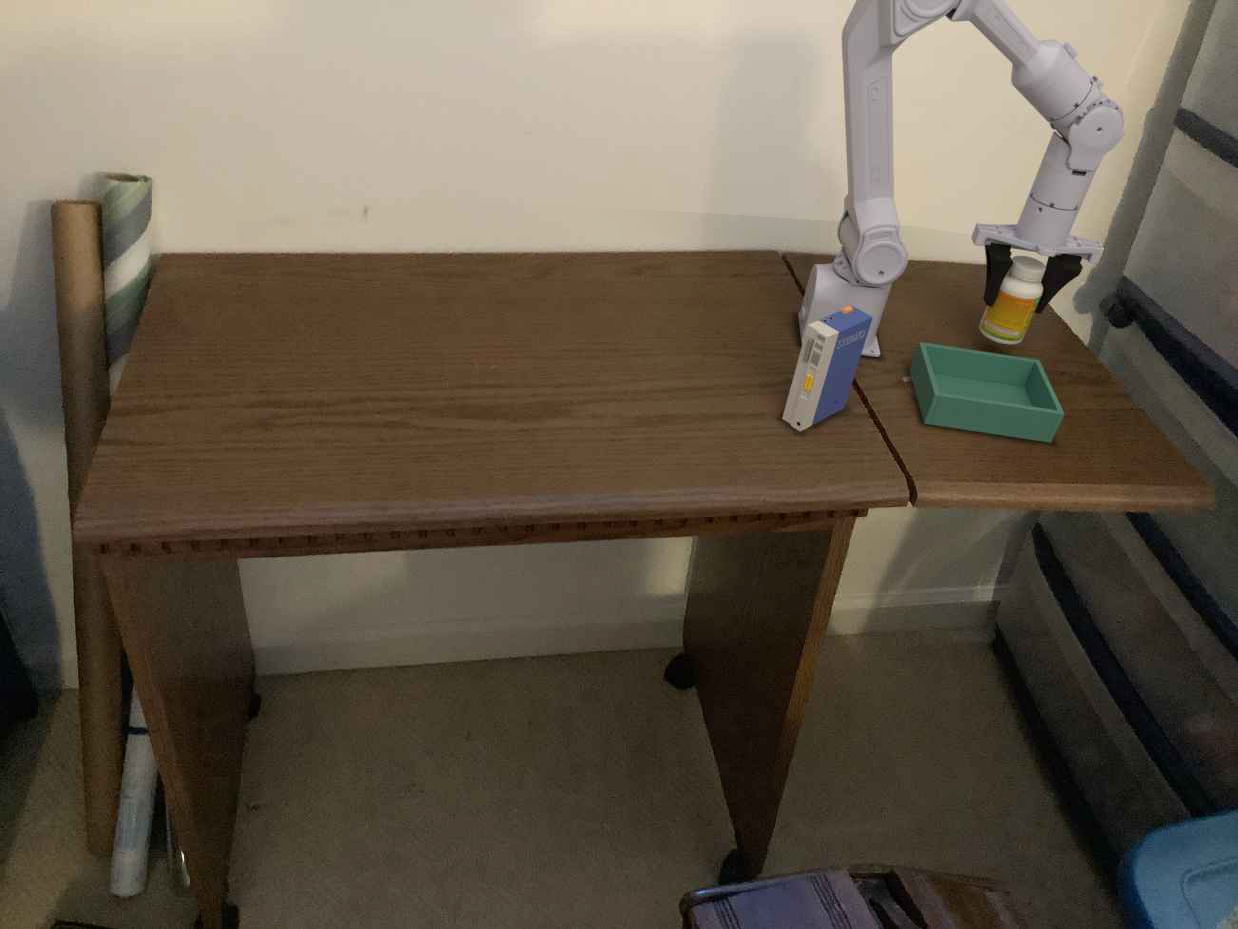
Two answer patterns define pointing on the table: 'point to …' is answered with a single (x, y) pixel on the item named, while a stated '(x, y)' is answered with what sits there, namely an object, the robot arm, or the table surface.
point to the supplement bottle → (1014, 302)
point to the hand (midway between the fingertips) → (1011, 305)
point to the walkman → (826, 367)
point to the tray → (985, 392)
